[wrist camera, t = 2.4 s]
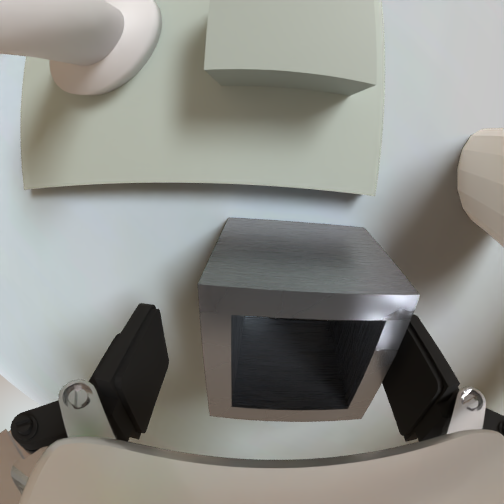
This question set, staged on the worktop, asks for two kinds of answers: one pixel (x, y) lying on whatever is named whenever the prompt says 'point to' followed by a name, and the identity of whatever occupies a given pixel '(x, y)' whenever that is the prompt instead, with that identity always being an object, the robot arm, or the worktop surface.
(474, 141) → the shot glass
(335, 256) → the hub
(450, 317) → the worktop surface
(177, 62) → the block
